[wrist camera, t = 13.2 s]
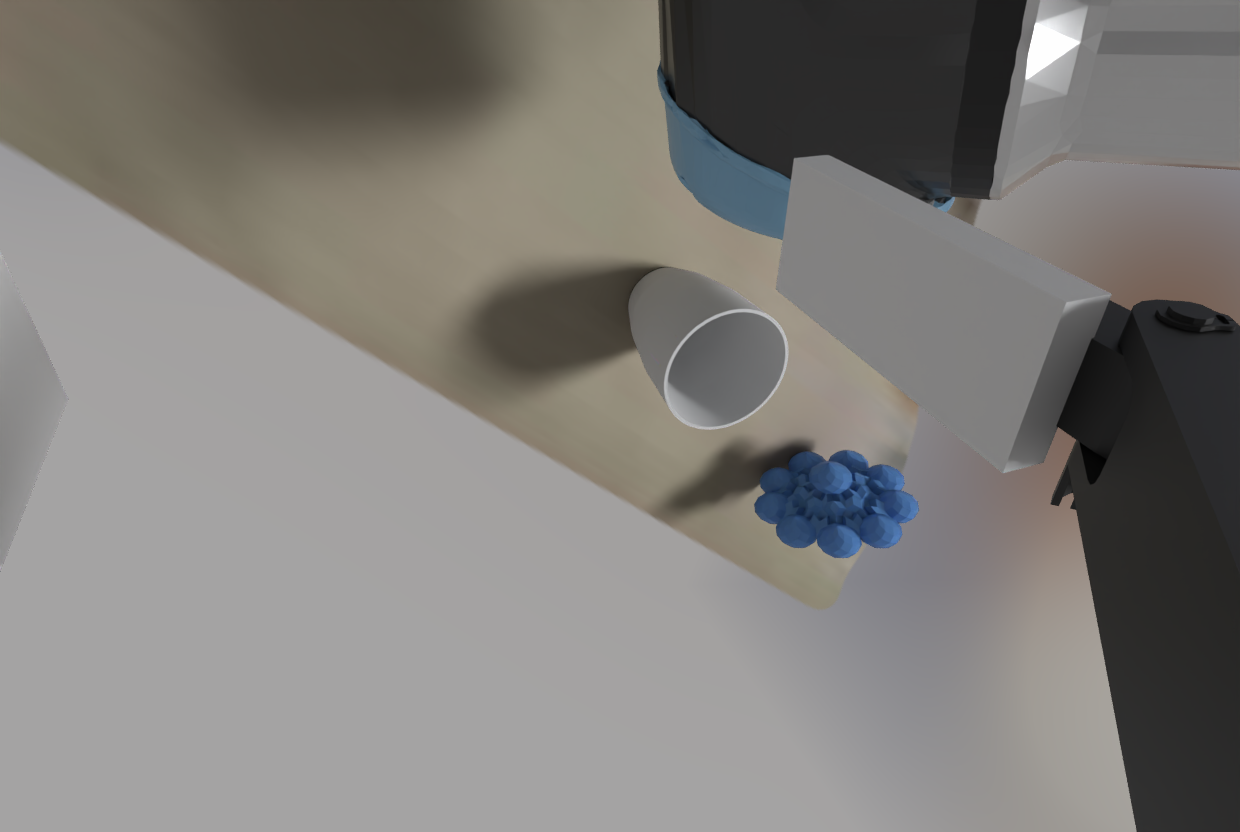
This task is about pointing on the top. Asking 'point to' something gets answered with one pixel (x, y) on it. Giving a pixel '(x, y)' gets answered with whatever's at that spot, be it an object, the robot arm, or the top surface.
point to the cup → (705, 347)
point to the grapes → (835, 503)
